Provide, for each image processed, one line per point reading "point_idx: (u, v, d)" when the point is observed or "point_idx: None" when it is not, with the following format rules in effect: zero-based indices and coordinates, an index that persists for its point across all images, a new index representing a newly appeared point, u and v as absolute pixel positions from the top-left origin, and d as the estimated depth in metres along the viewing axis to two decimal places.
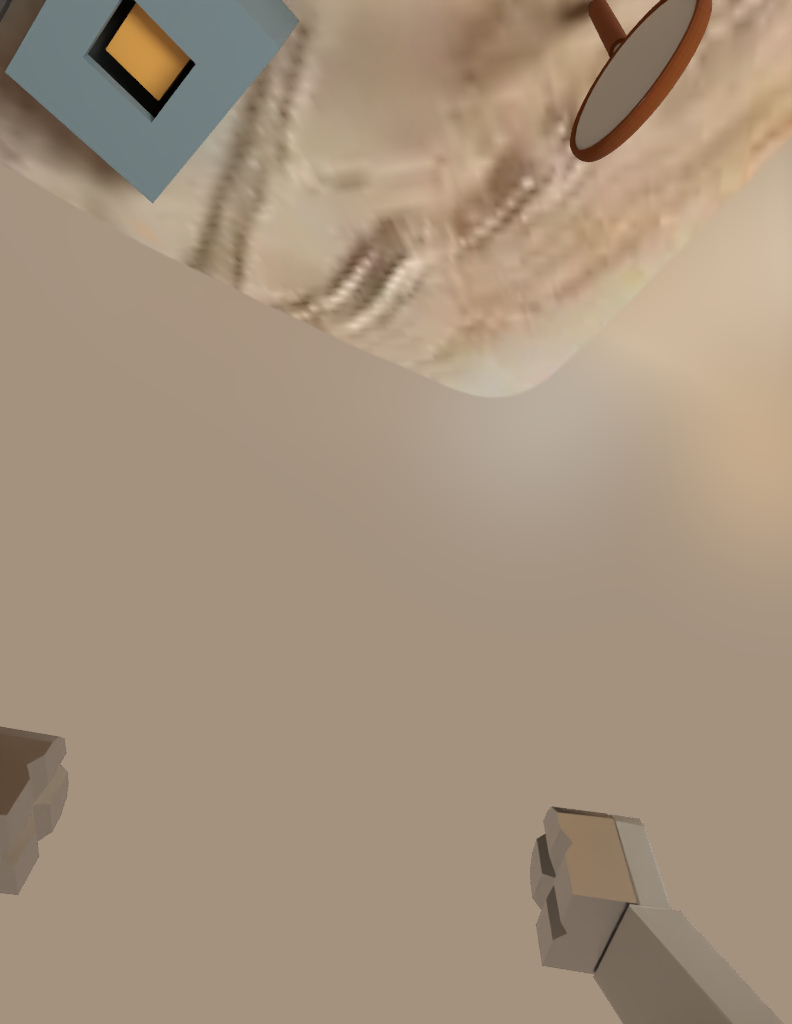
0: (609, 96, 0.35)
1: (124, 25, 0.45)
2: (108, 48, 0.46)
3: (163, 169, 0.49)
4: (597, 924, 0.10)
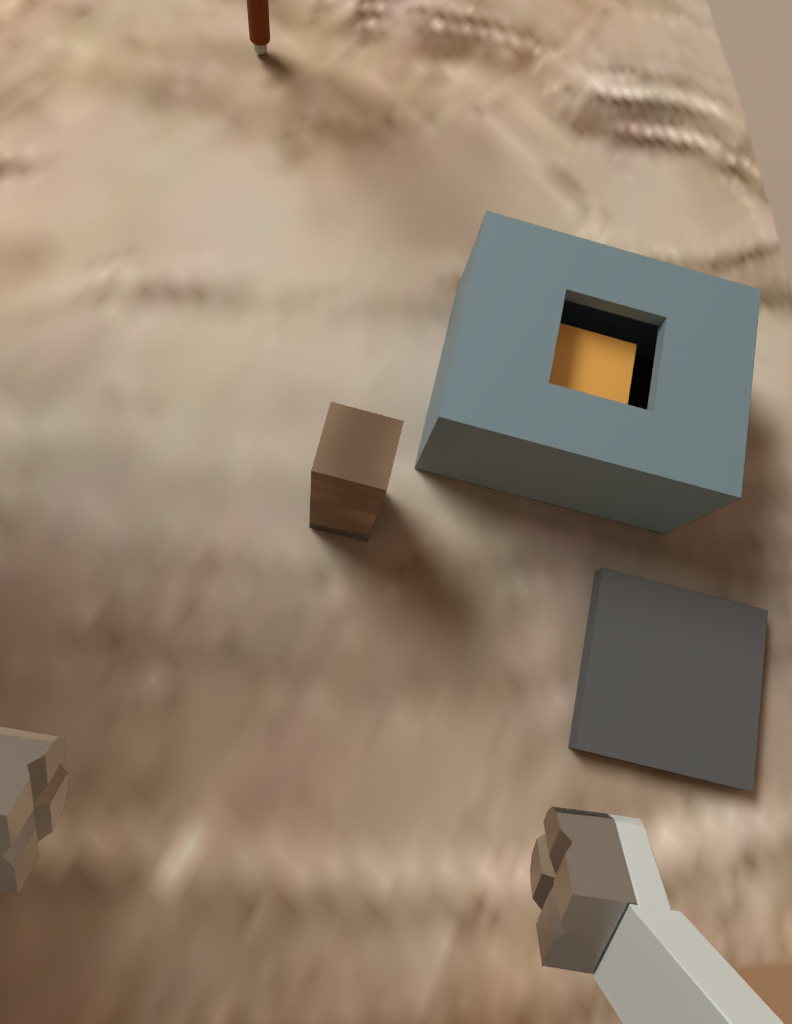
0: None
1: None
2: None
3: (709, 289, 0.35)
4: (597, 924, 0.10)
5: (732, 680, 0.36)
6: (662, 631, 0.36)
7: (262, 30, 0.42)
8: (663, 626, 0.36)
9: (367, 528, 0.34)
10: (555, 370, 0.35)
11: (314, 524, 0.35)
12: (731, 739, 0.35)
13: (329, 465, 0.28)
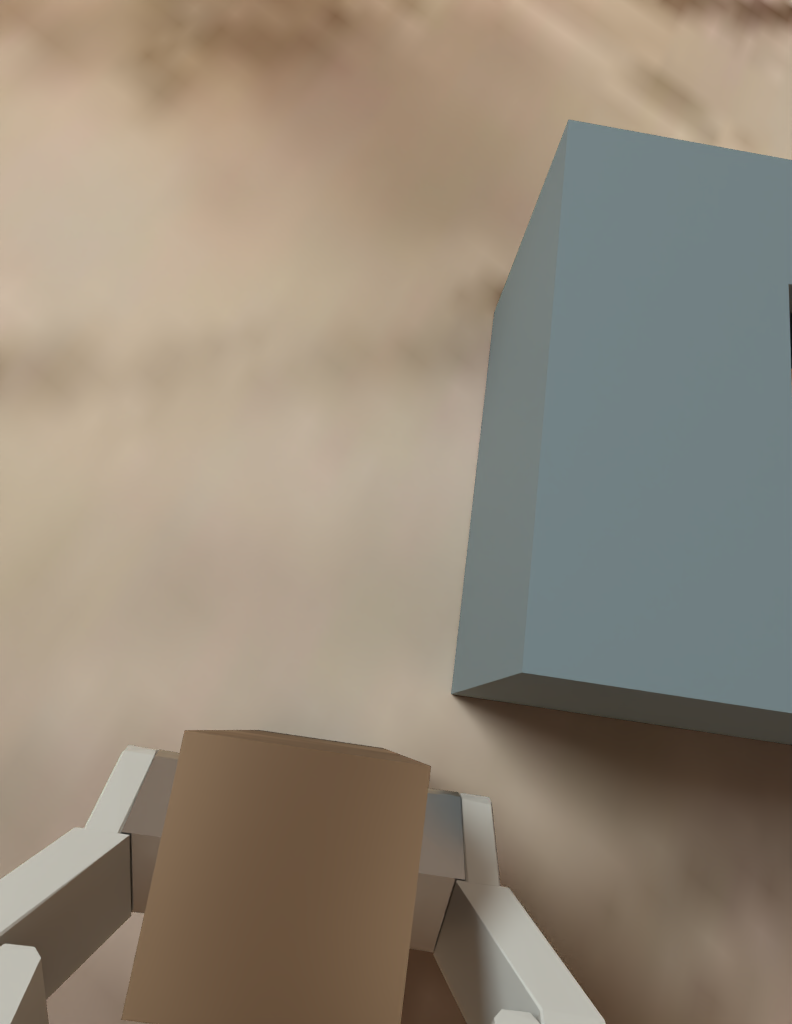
0: None
1: None
2: None
3: None
4: (429, 901, 0.10)
5: None
6: None
7: None
8: None
9: None
10: None
11: None
12: None
13: (188, 984, 0.08)
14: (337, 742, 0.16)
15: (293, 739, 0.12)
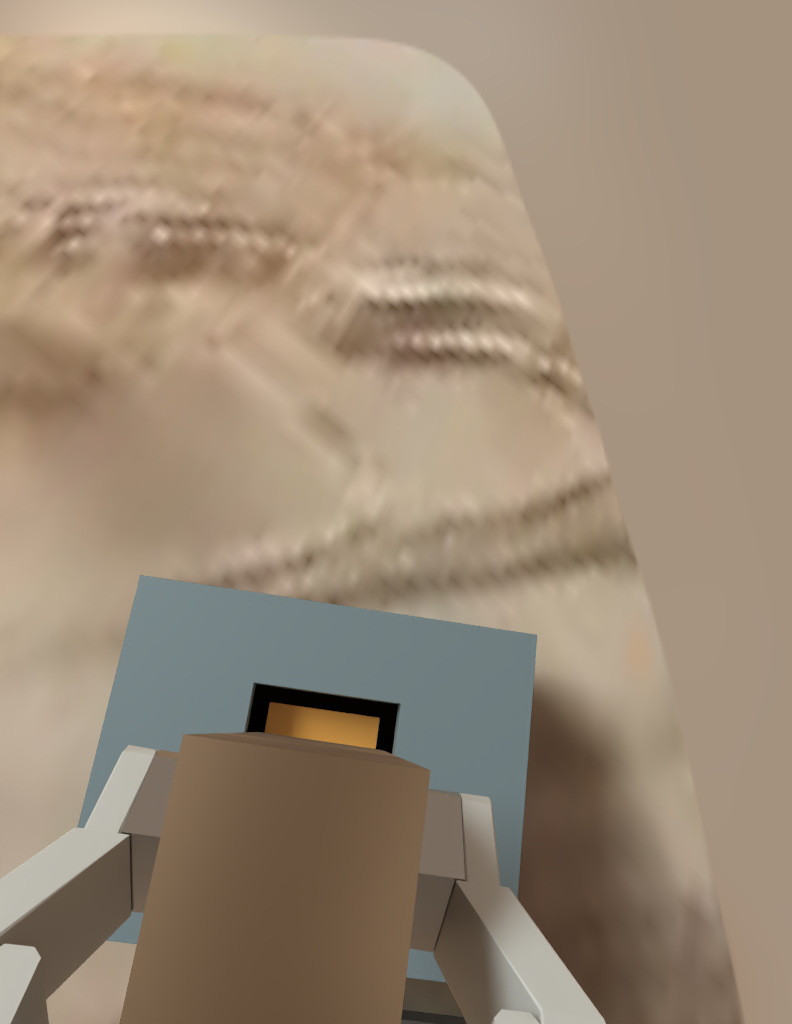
0: None
1: None
2: None
3: (463, 646, 0.25)
4: (429, 901, 0.10)
5: None
6: None
7: None
8: None
9: None
10: None
11: None
12: None
13: (186, 990, 0.08)
14: (336, 744, 0.16)
15: (292, 742, 0.12)
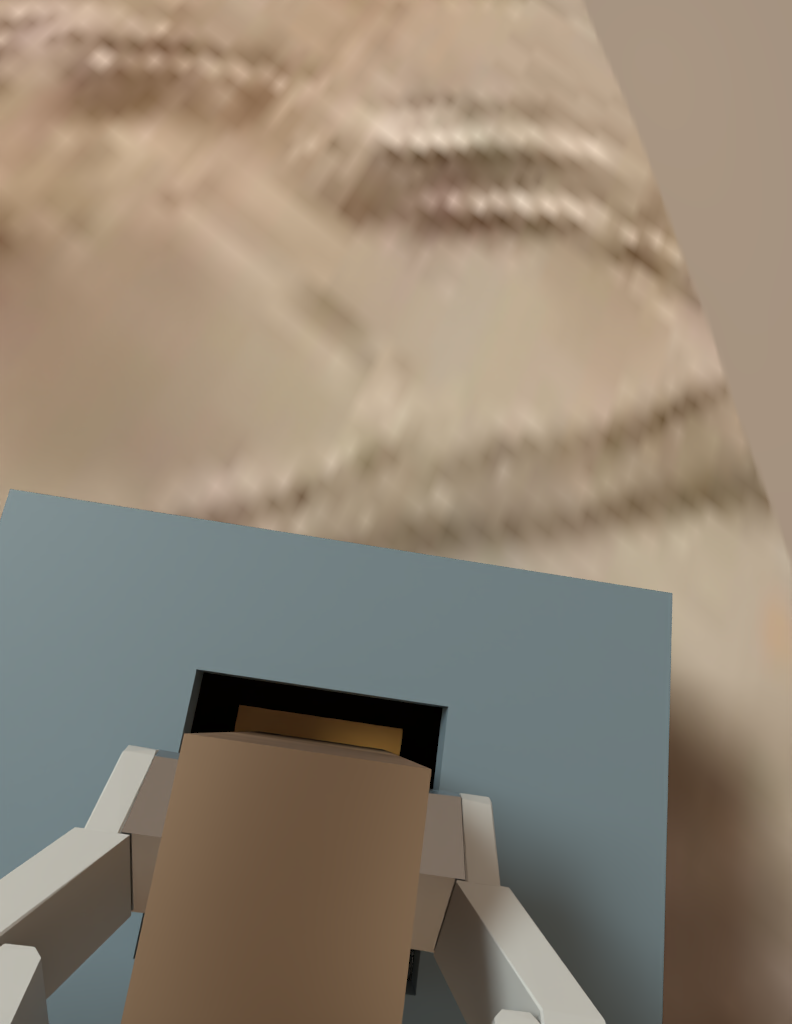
0: None
1: None
2: None
3: (551, 611, 0.15)
4: (429, 901, 0.10)
5: None
6: None
7: None
8: None
9: None
10: None
11: None
12: None
13: (187, 988, 0.08)
14: (337, 743, 0.16)
15: (293, 741, 0.12)
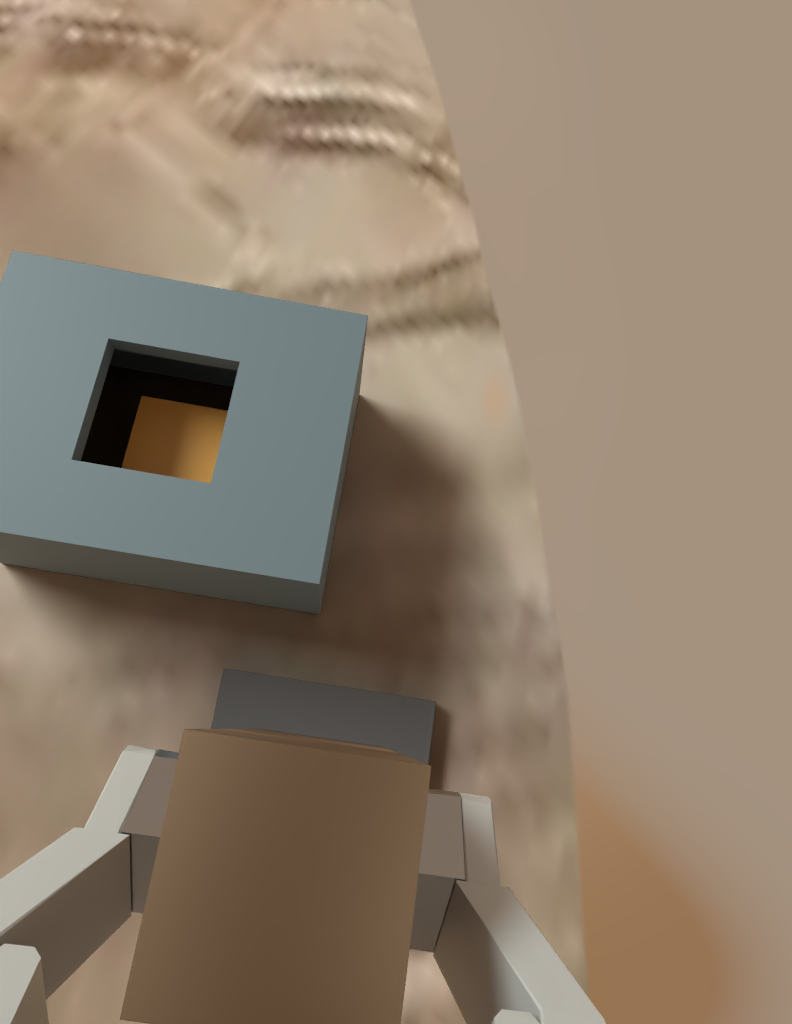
0: None
1: None
2: None
3: (300, 321, 0.28)
4: (429, 901, 0.10)
5: None
6: None
7: None
8: None
9: None
10: (131, 453, 0.30)
11: None
12: None
13: (186, 984, 0.08)
14: (337, 741, 0.16)
15: (293, 738, 0.12)
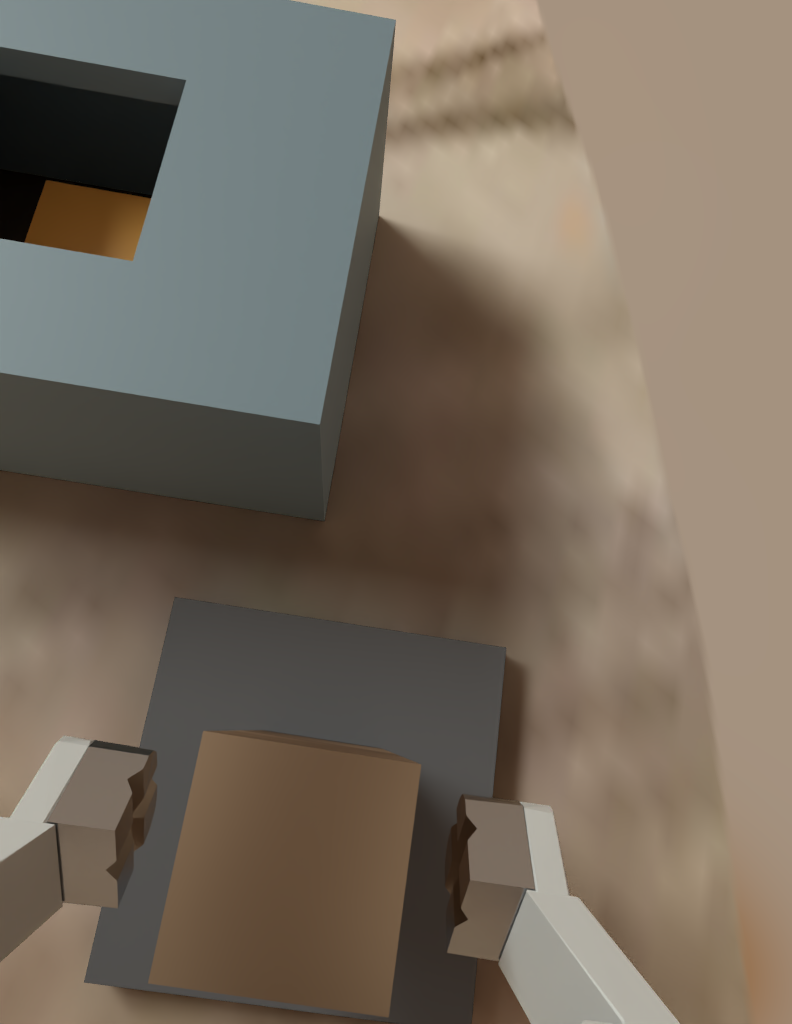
0: None
1: None
2: None
3: (286, 24, 0.17)
4: (497, 910, 0.10)
5: (431, 795, 0.18)
6: (289, 710, 0.18)
7: None
8: (291, 699, 0.19)
9: None
10: None
11: None
12: (426, 922, 0.17)
13: (206, 953, 0.09)
14: (337, 742, 0.17)
15: (297, 739, 0.14)
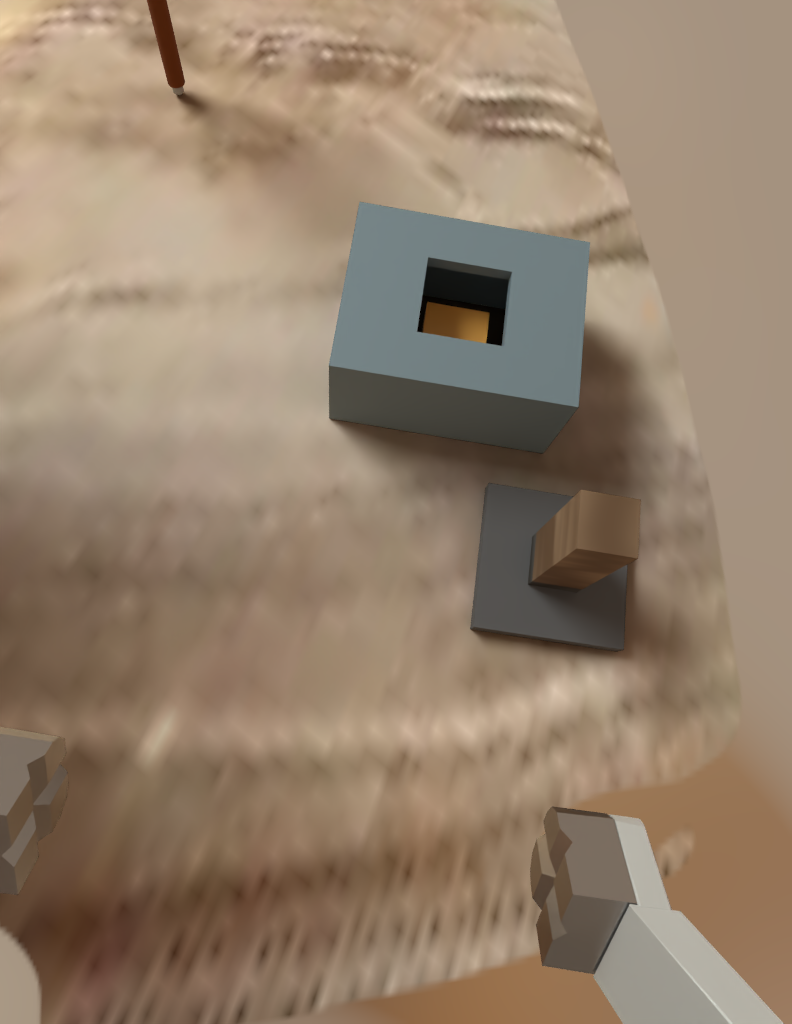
0: None
1: None
2: None
3: (547, 246, 0.43)
4: (597, 924, 0.10)
5: None
6: None
7: (176, 75, 0.50)
8: (541, 525, 0.44)
9: (588, 583, 0.40)
10: None
11: (535, 582, 0.42)
12: (603, 610, 0.43)
13: (590, 542, 0.34)
14: None
15: None
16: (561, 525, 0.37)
